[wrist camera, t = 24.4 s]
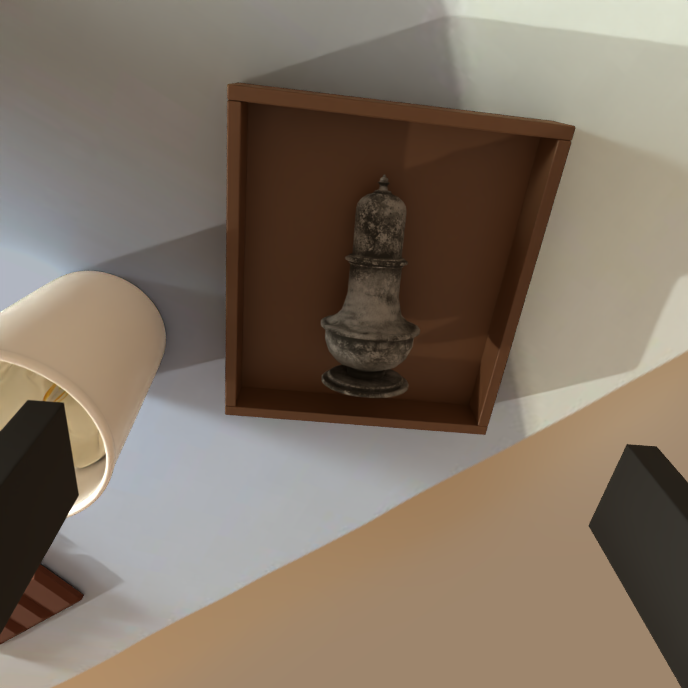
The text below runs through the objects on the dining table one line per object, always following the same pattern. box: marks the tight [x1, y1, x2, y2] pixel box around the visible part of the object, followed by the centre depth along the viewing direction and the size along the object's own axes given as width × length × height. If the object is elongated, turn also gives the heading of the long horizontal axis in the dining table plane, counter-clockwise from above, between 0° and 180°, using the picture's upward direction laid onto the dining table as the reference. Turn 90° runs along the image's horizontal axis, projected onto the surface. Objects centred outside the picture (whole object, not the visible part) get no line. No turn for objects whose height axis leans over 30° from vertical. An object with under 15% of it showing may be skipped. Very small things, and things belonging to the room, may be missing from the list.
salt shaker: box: [321, 175, 420, 398], centre depth 30 cm, size 6×6×12 cm
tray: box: [225, 83, 575, 435], centre depth 31 cm, size 19×17×3 cm
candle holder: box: [0, 271, 166, 518], centre depth 29 cm, size 10×10×12 cm
